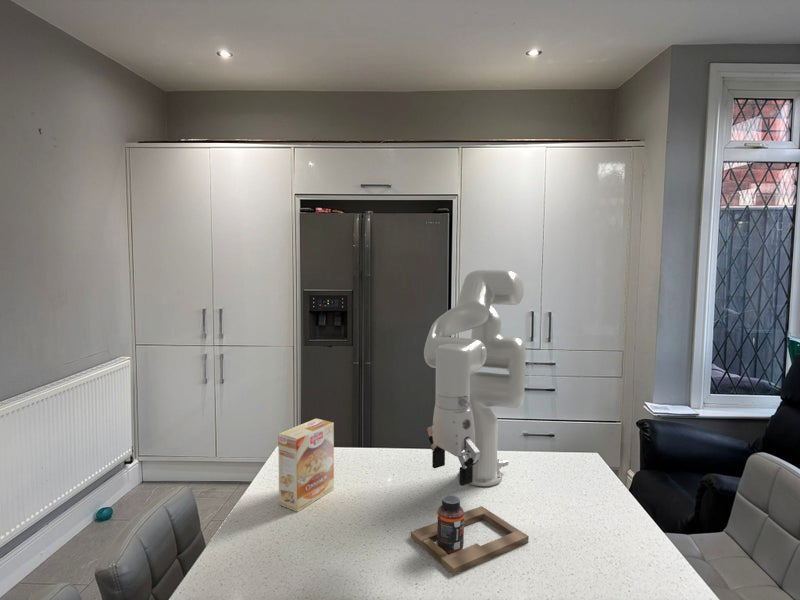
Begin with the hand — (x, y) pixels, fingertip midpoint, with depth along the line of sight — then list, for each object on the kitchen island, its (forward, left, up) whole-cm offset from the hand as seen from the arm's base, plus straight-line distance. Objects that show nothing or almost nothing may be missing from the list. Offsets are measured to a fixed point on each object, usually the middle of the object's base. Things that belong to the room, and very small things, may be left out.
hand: (451, 474), depth 110 cm
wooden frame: (-5, 0, -17) cm, 18 cm away
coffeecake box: (+19, -39, -17) cm, 46 cm away
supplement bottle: (0, 0, -17) cm, 17 cm away
